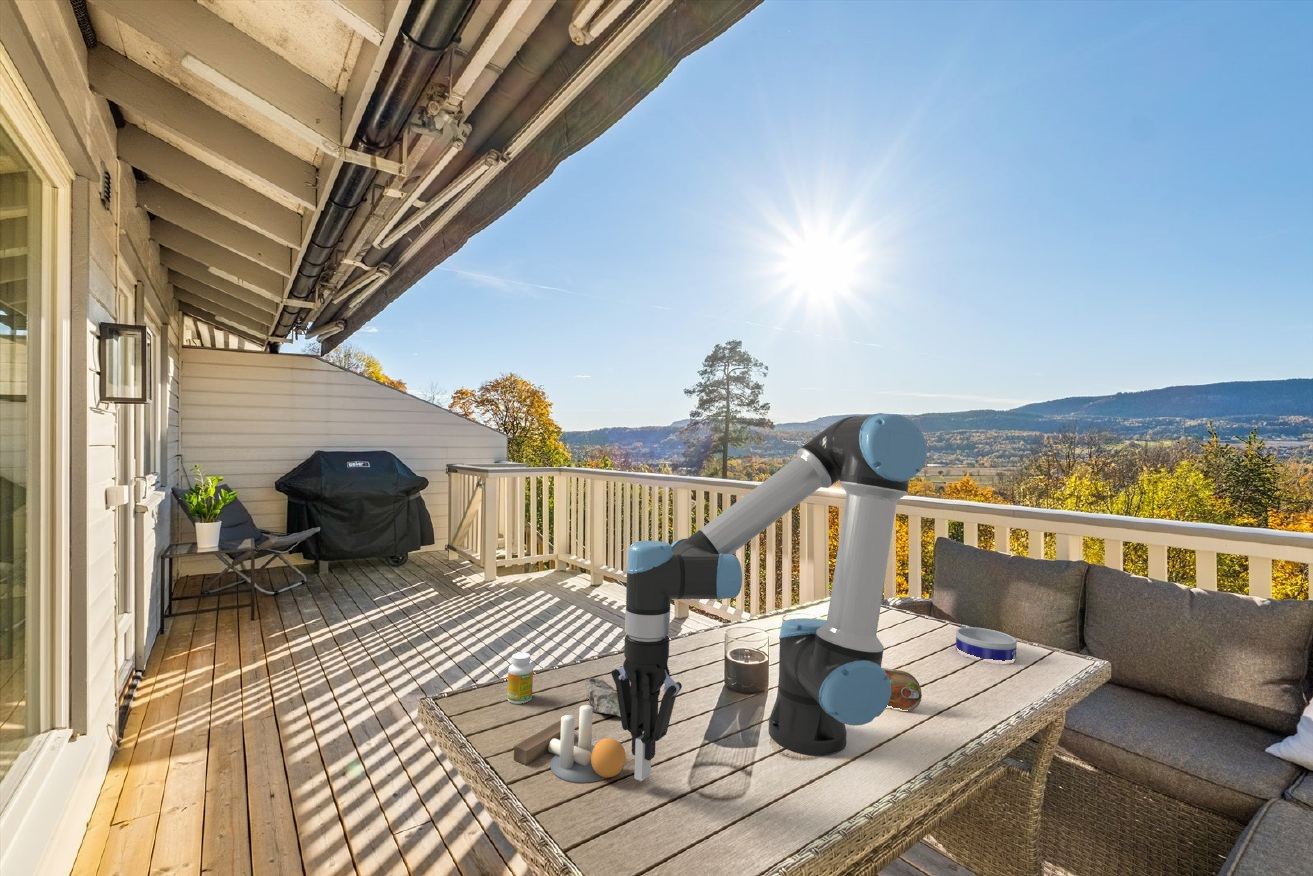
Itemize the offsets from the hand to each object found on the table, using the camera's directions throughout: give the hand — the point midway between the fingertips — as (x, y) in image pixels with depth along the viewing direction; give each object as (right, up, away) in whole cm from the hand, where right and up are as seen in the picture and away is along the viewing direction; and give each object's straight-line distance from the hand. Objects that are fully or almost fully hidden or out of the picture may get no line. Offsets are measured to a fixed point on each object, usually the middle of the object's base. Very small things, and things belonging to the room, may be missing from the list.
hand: (642, 776), depth 98 cm
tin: (+54, -5, +35) cm, 65 cm away
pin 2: (-11, -2, +10) cm, 15 cm away
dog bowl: (+98, -7, +71) cm, 121 cm away
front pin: (-10, -1, +6) cm, 12 cm away
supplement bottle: (-28, -2, +32) cm, 43 cm away
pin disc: (-11, -2, +7) cm, 13 cm away
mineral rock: (-9, -3, +30) cm, 31 cm away
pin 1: (-14, -2, +6) cm, 15 cm away
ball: (-6, +1, +3) cm, 7 cm away
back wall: (-19, -2, +12) cm, 22 cm away
